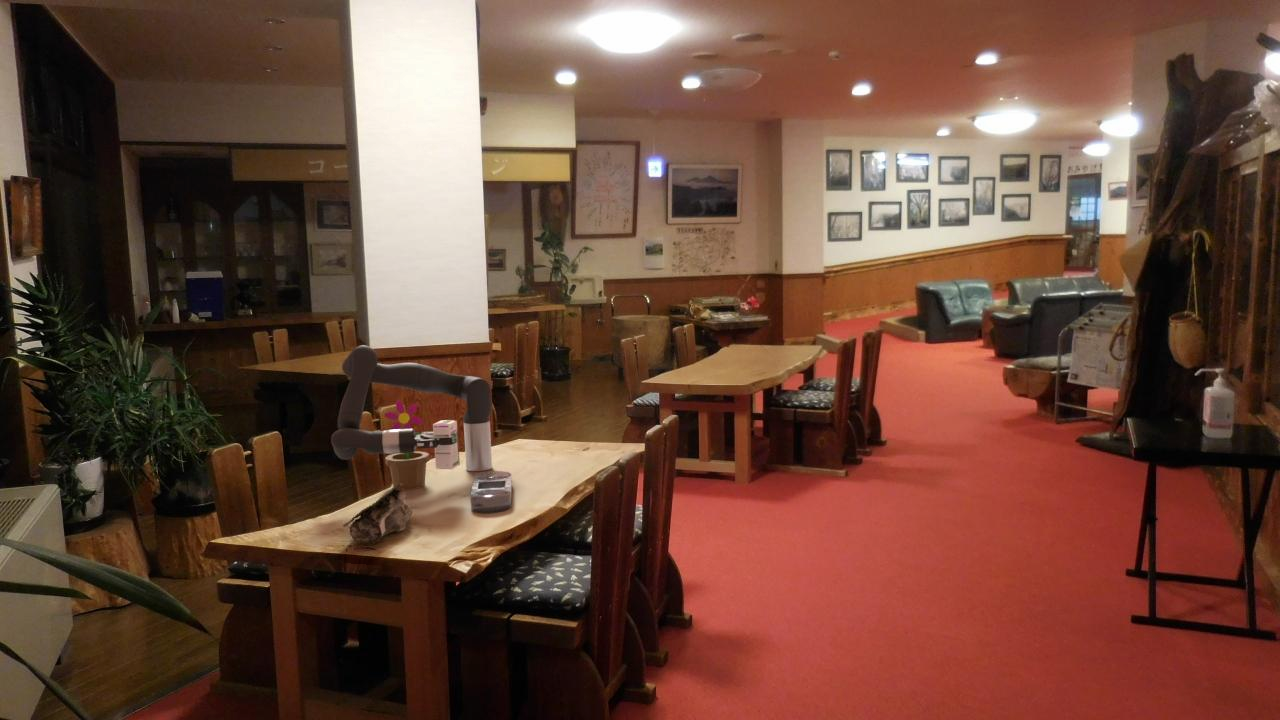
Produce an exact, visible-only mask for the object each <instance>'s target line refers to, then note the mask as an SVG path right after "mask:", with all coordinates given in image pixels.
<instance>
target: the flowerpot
mask: <svg viewBox="0 0 1280 720" xmlns="http://www.w3.org/2000/svg"><path fill="white" fill-rule="evenodd" d="M418 407H419V404H418V403H416V402H415V403H413V404H411V405H410V406H409V407H408V408H407V409H406V412H405V406H404V403H403V402H402V401H401V400H399V399H398V400H397V399H396V403H395V408H396V410H397V412H398V413H399V414H398V413H396V412H391V411H389V412H385V413H384V417H385V418H387V419H388V420H393V421H396V420H398V421H396V422H394V423H393V425H392V426H391V427H390V430H393V429H401V426H403V429H412V426H411V424H413V425H421V424H424V419H422V418H421V417H418V416H411V417H410V415H413V414H414V413H415V412H416V411H417V409H418ZM409 422H410V423H411V424H410V423H409ZM402 424H403V425H402ZM415 434H416V435H420V434H421V433H420V432H416V431H415ZM384 459H385V461H384V462H385V465H386V466H387V467H389V472H390V477H391V481H392V486H393V488H395V487H397V486H398V485H400V484H401V483H403V485H401V486H399V487H398V488H397V489H398V490H403V491H405V490H407V491H408V490H415V489H419V488H422V487H424V486H425V485H426V471H427V463H428V462H429V461H430V454H429V452H426V451H418V450H415V452H414V453H396V454H389V455H386V457H384Z"/></svg>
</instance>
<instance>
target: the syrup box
mask: <svg viewBox="0 0 1280 720" xmlns="http://www.w3.org/2000/svg"><path fill="white" fill-rule="evenodd" d="M432 430H433V431H432V432H433V434H434V437H435V438H447V437H452V441H453V443H452V445H440V446H437V447H436V448H434V458H435V459H434V461H435V462H434V463H435V469H436V470H454V468H457V467H458V466H460V462H461V461H460V451H459V449H460V448H459V436H458V434H459V433H458V421H457V420H454V419H446V420H445V419H443V420H439V421H437V422H435V423H433V424H432Z"/></svg>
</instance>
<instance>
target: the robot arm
mask: <svg viewBox="0 0 1280 720" xmlns="http://www.w3.org/2000/svg"><path fill="white" fill-rule="evenodd" d="M378 359H379V357H378V354H377V351H375V349H373V348H372V347H371V346H369V345H367V344H366V345H365V344H362V345H358V346H356V347H354V349H352V351H350V353H349V354H348V355H347V357H346V358H345V359H344V361H343V363H342V365H341V369H342V372H343V374H344V375H345V376H346V377H348V378H349V383H348V384H347V385H348V386H347V388H346V390H345V393H344V395H343V398H342V401H341V404H340V406H339V407H340V408H339V412H338V417H337V428H338V430H335V431H334V432H333V433H332V435H331V438H330V441H331V446H332V447H333V452H334V453H335V455H336V456H337V457H338V458H339V459H340V460H350V459H352V458H353V457H355V456H356V455H357V453H358V451H359V449H362V450H363V451H365V452H366V453H367V454H369V455H376V454H377V455H378V454H389V455H391V454H396V453H414V452H415V451H417V450H416V449H419V450H420V449H432V448H436V447H437V446H440V445H452V443H453V441H452V437H447V438H435V437H434V434H433V431H422V432H421V433H419V434H420V435H416V434H415V432H416V430H415V428H412V427H411V428H412V429H404V428H399V429H393V430H391V429H387V430H374V431H373V430H371V431H369V430H364V429H361V424H362V420H363V419H362V418H363V413H364V408H365V404H366V398H367V393H368V390H369V386H370V383H375V384H376V383H377V384H383V385H389V386H394V387H398V388H404V389H408V390H410V391H411V390H412V391H416V392H420V393H429V394H444V395H445V394H446V395H449V396H453V397H456V398H458V399H460V400H463V401H466V411H465V413H464V414H463V417H462V418H463V419H462V420H463V433H464V450H465V451H464V452H465V455H464V456H465V469H466V471H468V472H485V471H488V470H492V469H493V458H492V456H493V455H492V436H491V422H490V416H491V414H492V391H491V385H490V383H489V382H488V381H487V380H486V379H484V378H481V377H477V376H474V375H473V376H471V375H460V374H454V373H448V372H445V371H443V370H441V369H439V368H436V367H433V366H429V365H426V364H421V363H416V362H401V363H394V364H392V363H391V364H383V363H379V362H378Z"/></svg>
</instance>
